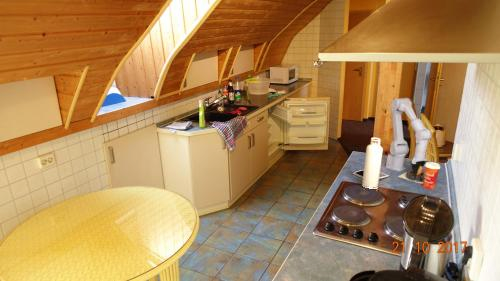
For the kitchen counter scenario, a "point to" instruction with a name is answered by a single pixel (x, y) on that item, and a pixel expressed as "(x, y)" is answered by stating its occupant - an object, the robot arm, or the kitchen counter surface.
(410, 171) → the dark brown round dish
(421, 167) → the tan rounded lump
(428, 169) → the paper cup
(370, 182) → the bottle
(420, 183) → the mat
